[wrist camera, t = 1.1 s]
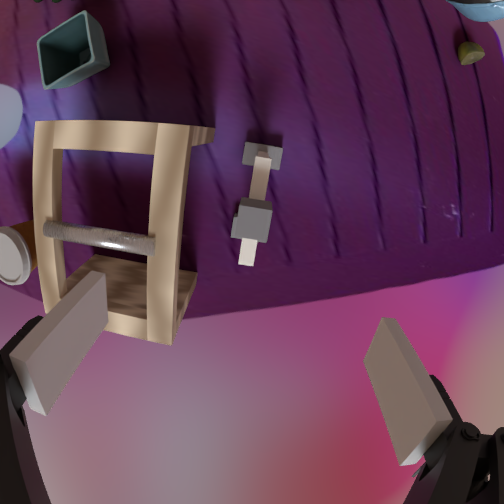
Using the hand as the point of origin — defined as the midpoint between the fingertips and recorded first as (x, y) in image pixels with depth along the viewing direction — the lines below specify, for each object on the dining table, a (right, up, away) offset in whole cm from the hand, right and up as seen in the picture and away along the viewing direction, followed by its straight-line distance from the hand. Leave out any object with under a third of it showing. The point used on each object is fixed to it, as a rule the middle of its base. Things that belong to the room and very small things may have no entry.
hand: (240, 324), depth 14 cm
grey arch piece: (+1, +12, +30) cm, 33 cm away
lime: (+35, +35, +21) cm, 53 cm away
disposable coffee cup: (-36, +7, +34) cm, 50 cm away
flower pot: (-24, +33, +23) cm, 47 cm away
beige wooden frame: (-15, +11, +31) cm, 36 cm away
